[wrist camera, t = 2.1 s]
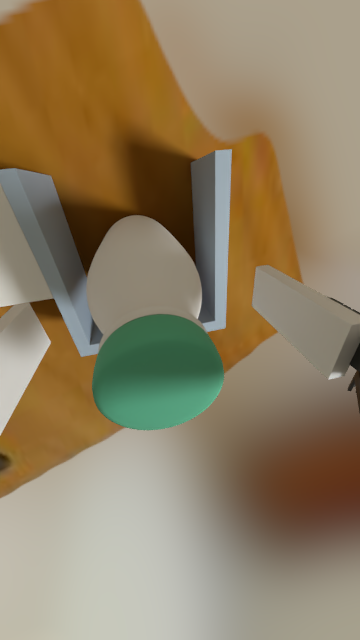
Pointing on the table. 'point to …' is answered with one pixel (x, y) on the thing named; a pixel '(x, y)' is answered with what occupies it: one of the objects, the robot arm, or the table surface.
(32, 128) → the table surface
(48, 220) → the grey u-shaped piece
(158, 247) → the milk bottle
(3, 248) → the tile
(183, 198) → the table surface
